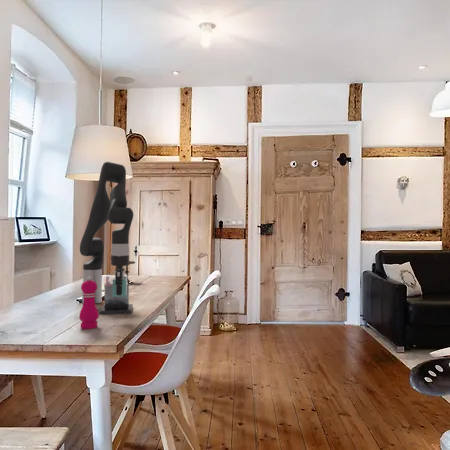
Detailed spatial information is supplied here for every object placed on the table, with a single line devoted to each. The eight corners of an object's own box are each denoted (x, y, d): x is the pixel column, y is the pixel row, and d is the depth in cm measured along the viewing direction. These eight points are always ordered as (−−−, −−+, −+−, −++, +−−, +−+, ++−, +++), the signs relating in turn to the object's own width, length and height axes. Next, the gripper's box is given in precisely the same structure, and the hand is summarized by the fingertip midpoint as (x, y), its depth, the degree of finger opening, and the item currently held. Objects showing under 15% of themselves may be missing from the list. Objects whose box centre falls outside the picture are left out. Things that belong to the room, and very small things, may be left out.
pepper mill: (87, 330, 159) (88, 278, 159) (75, 327, 163) (75, 276, 162) (102, 326, 165) (102, 276, 165) (90, 324, 169) (90, 274, 169)
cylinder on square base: (99, 314, 186) (99, 277, 186) (103, 307, 200) (103, 274, 200) (131, 313, 189) (131, 277, 189) (132, 307, 203) (132, 273, 203)
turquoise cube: (112, 296, 174) (112, 280, 174) (113, 294, 179) (113, 278, 179) (125, 296, 175) (125, 280, 175) (126, 294, 180) (126, 278, 180)
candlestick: (132, 284, 279) (133, 232, 278) (116, 283, 279) (117, 231, 279) (136, 281, 289) (136, 231, 289) (121, 281, 290) (121, 231, 289)
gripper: (112, 252, 184) (112, 291, 184) (109, 255, 169) (108, 297, 170) (130, 252, 185) (129, 290, 185) (128, 255, 171) (127, 296, 171)
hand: (119, 293), depth 177 cm, fingers closed on turquoise cube, 5 cm apart
